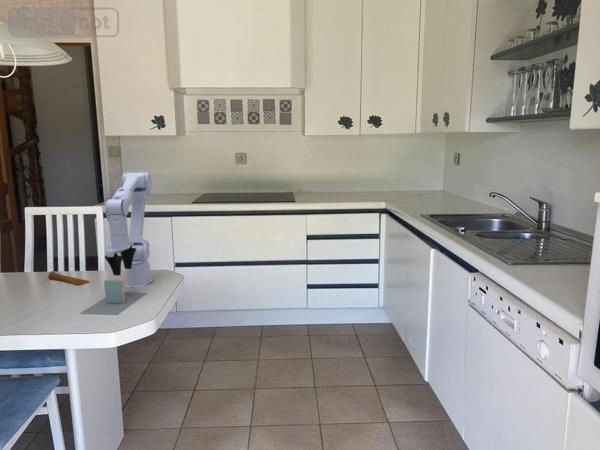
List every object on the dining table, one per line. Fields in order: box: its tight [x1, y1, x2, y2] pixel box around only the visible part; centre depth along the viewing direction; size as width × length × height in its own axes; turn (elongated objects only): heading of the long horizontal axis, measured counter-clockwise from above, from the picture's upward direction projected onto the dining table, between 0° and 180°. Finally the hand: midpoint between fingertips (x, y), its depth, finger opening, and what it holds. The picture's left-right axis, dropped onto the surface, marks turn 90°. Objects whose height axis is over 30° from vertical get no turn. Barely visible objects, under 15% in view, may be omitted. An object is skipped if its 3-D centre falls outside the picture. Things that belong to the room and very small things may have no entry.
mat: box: [79, 291, 148, 316], centre depth 153 cm, size 21×13×1 cm, turn 173°
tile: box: [103, 278, 125, 304], centre depth 152 cm, size 2×6×8 cm, turn 83°
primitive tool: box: [47, 270, 91, 287], centre depth 179 cm, size 19×6×4 cm, turn 68°
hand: (122, 271), depth 158 cm, fingers open, 7 cm apart
